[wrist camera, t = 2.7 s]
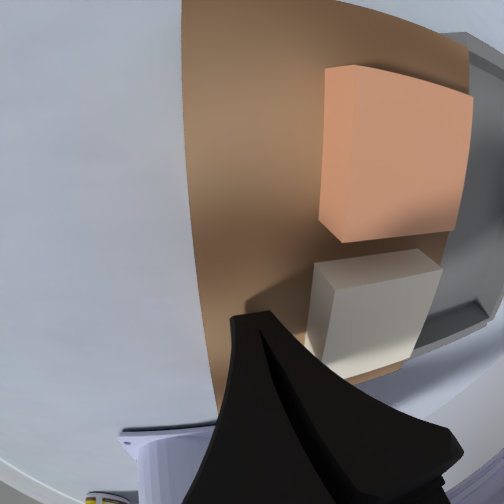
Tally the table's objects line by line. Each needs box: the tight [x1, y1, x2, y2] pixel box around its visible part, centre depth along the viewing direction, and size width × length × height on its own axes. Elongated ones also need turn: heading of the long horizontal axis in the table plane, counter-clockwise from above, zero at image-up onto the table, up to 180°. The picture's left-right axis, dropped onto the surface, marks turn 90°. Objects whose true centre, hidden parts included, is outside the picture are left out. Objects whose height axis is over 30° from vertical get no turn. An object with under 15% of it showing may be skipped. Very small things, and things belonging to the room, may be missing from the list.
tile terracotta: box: [318, 65, 473, 243], centre depth 8 cm, size 4×4×2 cm
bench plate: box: [181, 0, 469, 415], centre depth 11 cm, size 16×10×2 cm, turn 1°
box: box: [404, 32, 504, 361], centre depth 13 cm, size 17×9×2 cm, turn 1°
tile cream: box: [304, 248, 443, 379], centre depth 11 cm, size 4×4×2 cm
